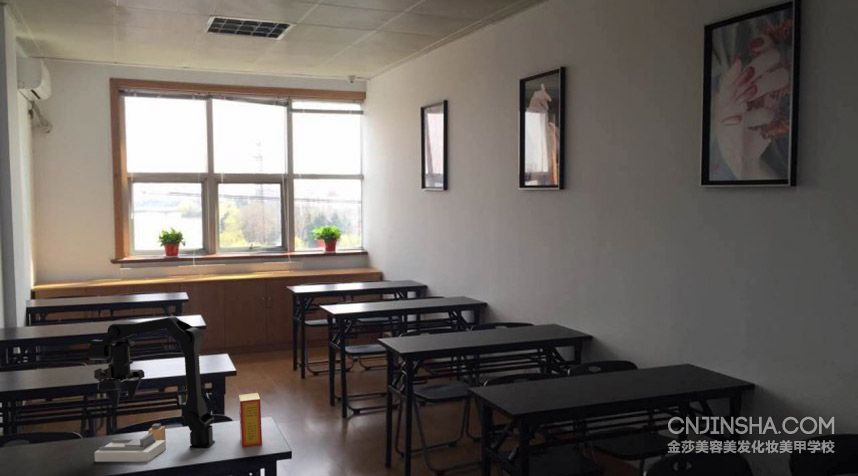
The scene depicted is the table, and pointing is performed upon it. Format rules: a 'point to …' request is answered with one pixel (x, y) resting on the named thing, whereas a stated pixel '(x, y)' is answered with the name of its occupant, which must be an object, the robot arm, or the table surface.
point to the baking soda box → (250, 420)
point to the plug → (158, 432)
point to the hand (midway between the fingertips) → (123, 404)
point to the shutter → (141, 441)
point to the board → (128, 451)
